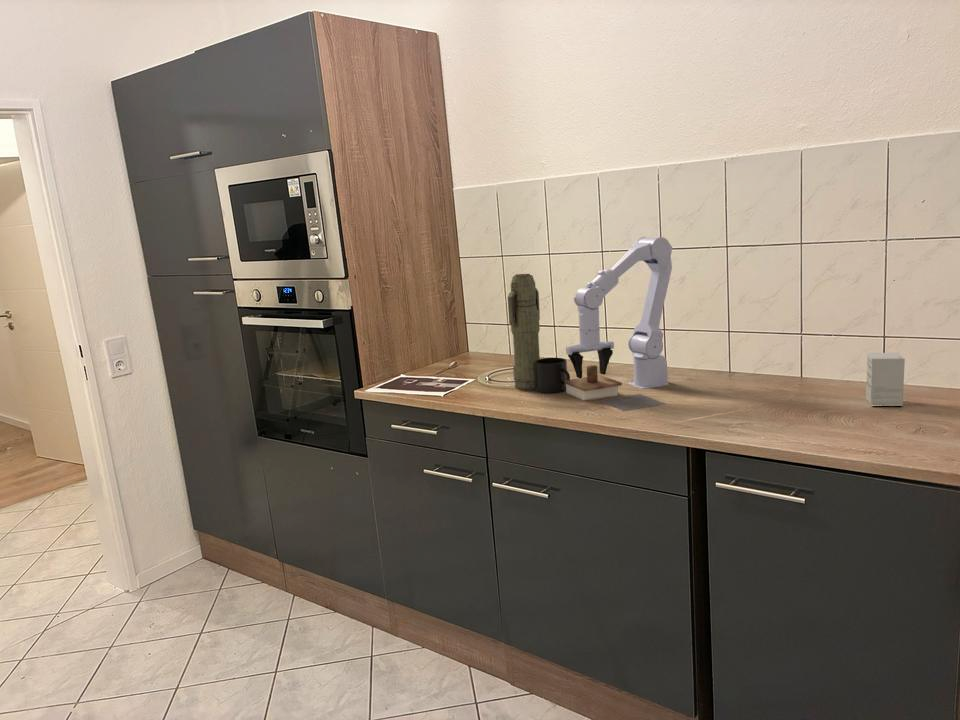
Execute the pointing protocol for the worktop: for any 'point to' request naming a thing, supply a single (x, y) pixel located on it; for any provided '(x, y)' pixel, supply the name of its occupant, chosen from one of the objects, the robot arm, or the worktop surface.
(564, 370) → the mug
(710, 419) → the worktop surface
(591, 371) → the lid
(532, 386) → the thermos
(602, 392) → the dish
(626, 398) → the mat
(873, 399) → the supplement box
